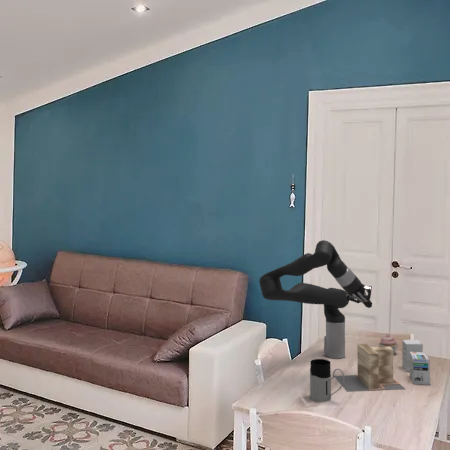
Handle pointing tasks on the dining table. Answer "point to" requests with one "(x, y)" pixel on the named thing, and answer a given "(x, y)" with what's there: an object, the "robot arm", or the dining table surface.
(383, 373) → the maple T block
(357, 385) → the charcoal board
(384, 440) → the dining table surface
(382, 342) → the cupcake
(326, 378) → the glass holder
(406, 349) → the supplement box
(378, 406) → the dining table surface
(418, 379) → the light bulb box
